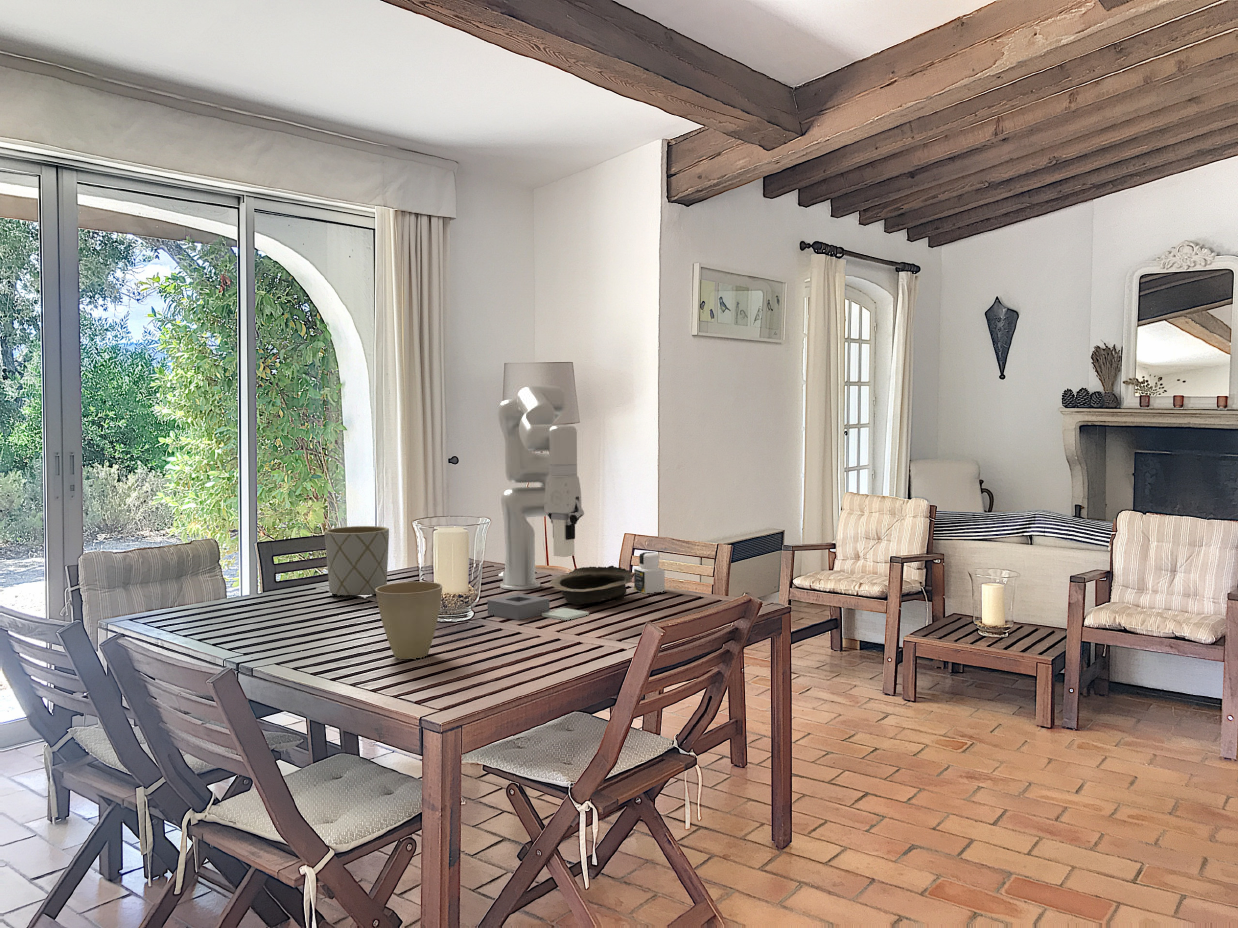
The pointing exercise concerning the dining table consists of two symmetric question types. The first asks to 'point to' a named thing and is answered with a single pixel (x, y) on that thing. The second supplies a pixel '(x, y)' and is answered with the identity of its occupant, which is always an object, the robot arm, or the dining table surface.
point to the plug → (561, 536)
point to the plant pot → (409, 616)
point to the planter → (357, 559)
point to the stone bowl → (593, 584)
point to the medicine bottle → (649, 574)
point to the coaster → (565, 614)
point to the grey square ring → (518, 606)
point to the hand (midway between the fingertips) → (564, 537)
